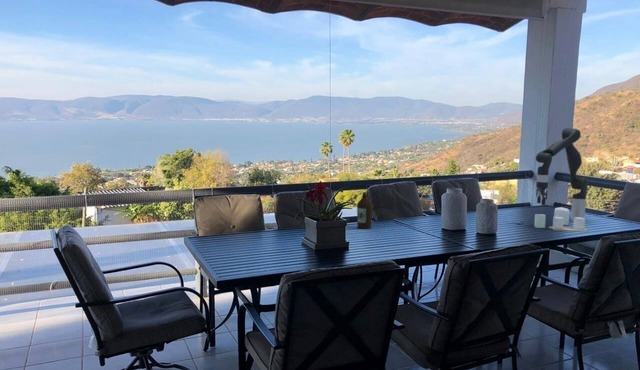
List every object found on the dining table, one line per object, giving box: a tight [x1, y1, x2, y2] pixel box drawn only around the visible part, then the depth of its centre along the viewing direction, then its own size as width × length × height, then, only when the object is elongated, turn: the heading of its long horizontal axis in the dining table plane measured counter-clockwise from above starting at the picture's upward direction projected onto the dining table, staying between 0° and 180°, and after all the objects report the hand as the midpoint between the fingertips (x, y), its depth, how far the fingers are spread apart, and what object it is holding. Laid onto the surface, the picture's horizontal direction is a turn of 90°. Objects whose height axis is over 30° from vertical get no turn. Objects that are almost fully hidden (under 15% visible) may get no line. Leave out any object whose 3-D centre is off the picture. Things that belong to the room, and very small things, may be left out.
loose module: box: [533, 213, 546, 229], centre depth 352 cm, size 4×6×9 cm, turn 86°
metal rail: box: [550, 226, 587, 229], centre depth 345 cm, size 4×22×1 cm, turn 86°
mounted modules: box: [552, 216, 586, 229], centre depth 344 cm, size 6×19×7 cm, turn 86°
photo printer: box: [553, 206, 570, 226], centre depth 364 cm, size 10×4×12 cm, turn 39°
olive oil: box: [356, 191, 373, 230], centre depth 345 cm, size 11×11×25 cm
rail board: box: [549, 226, 589, 232], centre depth 345 cm, size 10×22×1 cm, turn 86°
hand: (541, 203), depth 351 cm, fingers open, 8 cm apart
